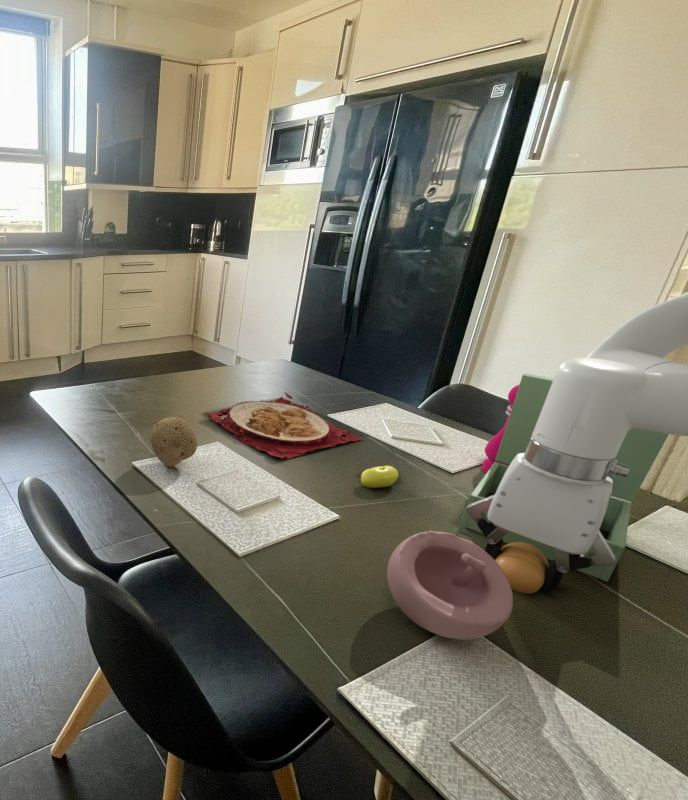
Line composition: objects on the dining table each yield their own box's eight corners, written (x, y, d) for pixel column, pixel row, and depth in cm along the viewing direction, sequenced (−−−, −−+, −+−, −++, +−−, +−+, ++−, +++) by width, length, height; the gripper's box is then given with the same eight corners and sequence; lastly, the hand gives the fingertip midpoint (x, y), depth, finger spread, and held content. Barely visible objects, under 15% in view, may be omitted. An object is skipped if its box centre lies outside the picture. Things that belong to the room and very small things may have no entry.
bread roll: (532, 609, 62) (547, 577, 60) (482, 587, 65) (494, 556, 64) (543, 578, 67) (557, 547, 65) (497, 559, 71) (508, 529, 69)
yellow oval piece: (351, 482, 91) (356, 464, 89) (385, 476, 93) (390, 458, 91) (369, 494, 87) (374, 475, 85) (404, 488, 89) (410, 469, 88)
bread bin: (603, 589, 65) (624, 548, 63) (457, 531, 77) (470, 494, 74) (613, 539, 76) (631, 502, 73) (482, 494, 87) (495, 461, 85)
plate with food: (202, 419, 117) (203, 406, 116) (281, 401, 127) (283, 389, 126) (275, 464, 98) (278, 449, 96) (362, 439, 108) (365, 425, 106)
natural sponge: (180, 451, 101) (184, 407, 98) (203, 471, 94) (209, 424, 90) (141, 457, 98) (144, 412, 95) (162, 479, 91) (166, 431, 87)
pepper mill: (483, 460, 99) (516, 367, 92) (529, 475, 94) (568, 377, 87) (473, 471, 95) (507, 375, 88) (520, 487, 90) (560, 385, 82)
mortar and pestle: (401, 655, 55) (428, 575, 51) (362, 581, 66) (382, 510, 62) (518, 671, 53) (556, 589, 49) (459, 592, 64) (485, 520, 60)
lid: (684, 406, 64) (688, 388, 66) (522, 375, 75) (531, 360, 78) (632, 501, 73) (637, 482, 75) (495, 460, 84) (503, 445, 87)
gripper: (670, 476, 56) (606, 599, 62) (487, 428, 68) (449, 536, 74) (669, 499, 51) (600, 629, 58) (473, 443, 63) (434, 557, 70)
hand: (516, 575), depth 66 cm, fingers closed on bread roll, 5 cm apart
